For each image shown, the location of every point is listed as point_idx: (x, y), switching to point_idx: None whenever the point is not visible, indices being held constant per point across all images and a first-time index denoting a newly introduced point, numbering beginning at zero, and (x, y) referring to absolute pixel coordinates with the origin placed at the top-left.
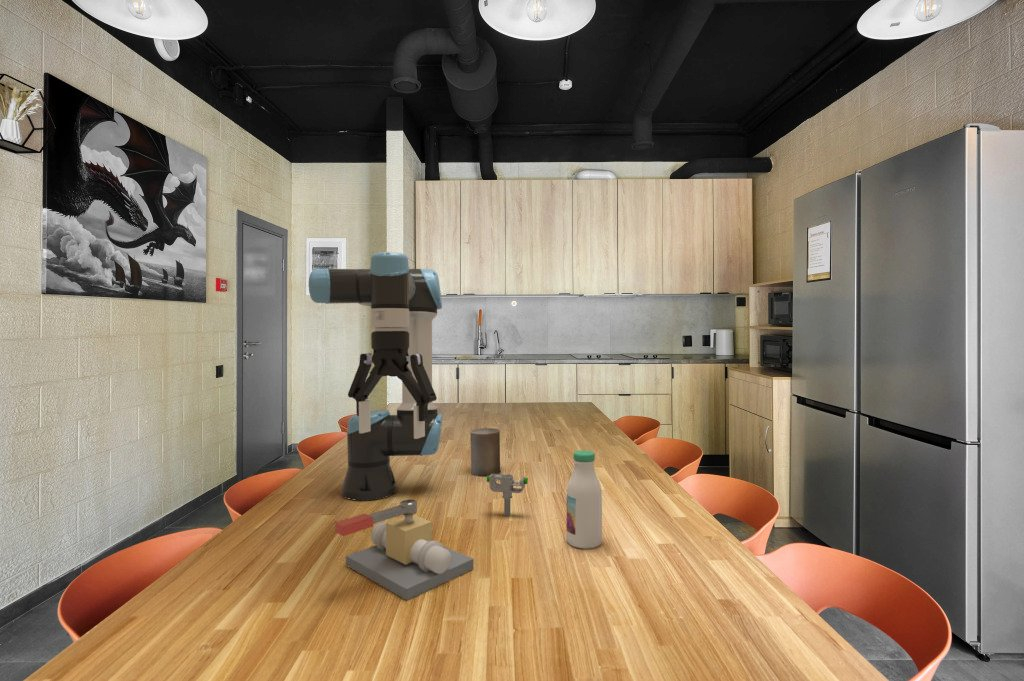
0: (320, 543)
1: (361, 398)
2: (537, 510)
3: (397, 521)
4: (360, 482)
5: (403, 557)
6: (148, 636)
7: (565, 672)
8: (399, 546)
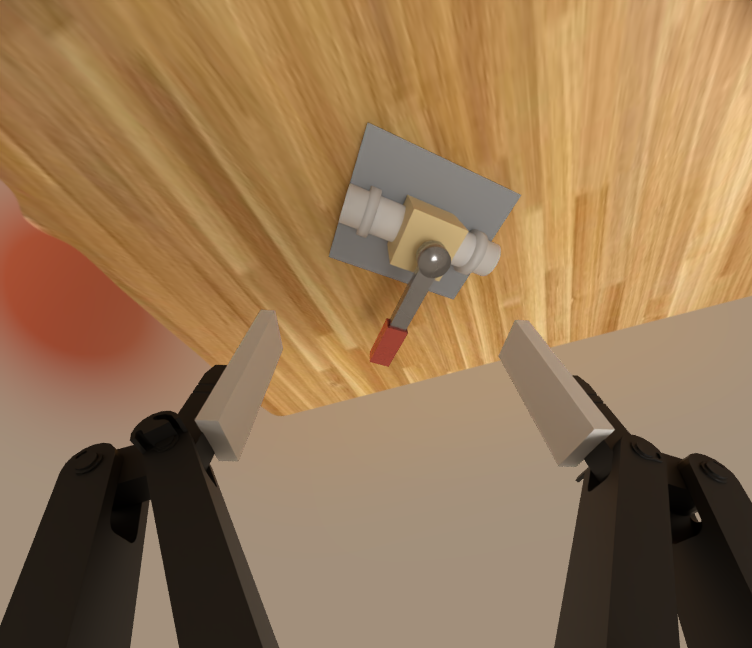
0: (227, 199)
1: (205, 466)
2: None
3: (406, 251)
4: None
5: None
6: (284, 388)
7: (611, 331)
8: None
